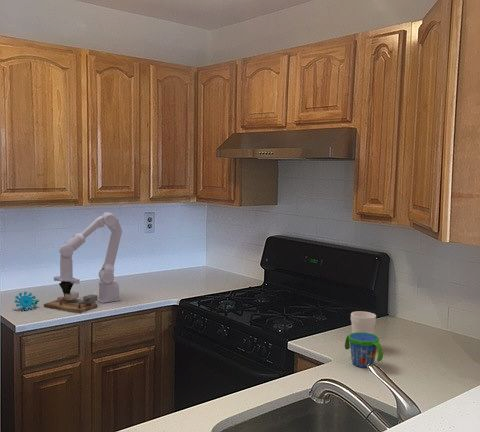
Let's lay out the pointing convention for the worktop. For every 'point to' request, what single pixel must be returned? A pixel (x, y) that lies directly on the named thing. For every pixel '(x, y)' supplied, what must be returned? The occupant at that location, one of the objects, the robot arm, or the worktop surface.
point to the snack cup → (363, 348)
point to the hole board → (69, 306)
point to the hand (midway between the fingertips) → (66, 296)
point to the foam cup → (363, 322)
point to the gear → (26, 301)
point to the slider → (70, 296)
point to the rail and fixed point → (86, 300)
